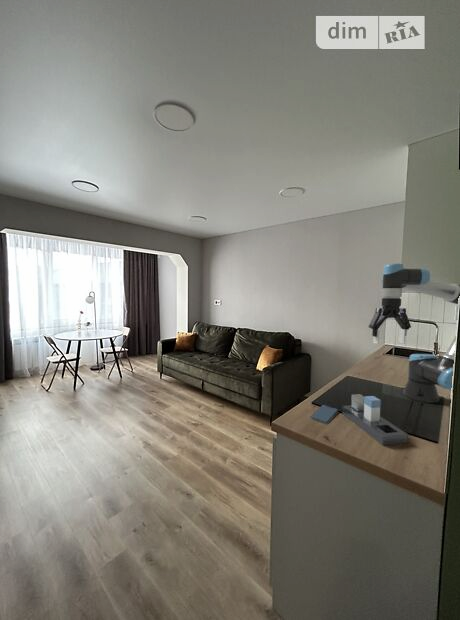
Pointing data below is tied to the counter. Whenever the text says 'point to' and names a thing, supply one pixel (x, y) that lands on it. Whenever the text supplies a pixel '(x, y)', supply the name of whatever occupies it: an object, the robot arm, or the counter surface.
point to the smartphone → (324, 414)
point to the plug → (372, 408)
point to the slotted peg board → (373, 423)
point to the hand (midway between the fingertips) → (388, 343)
